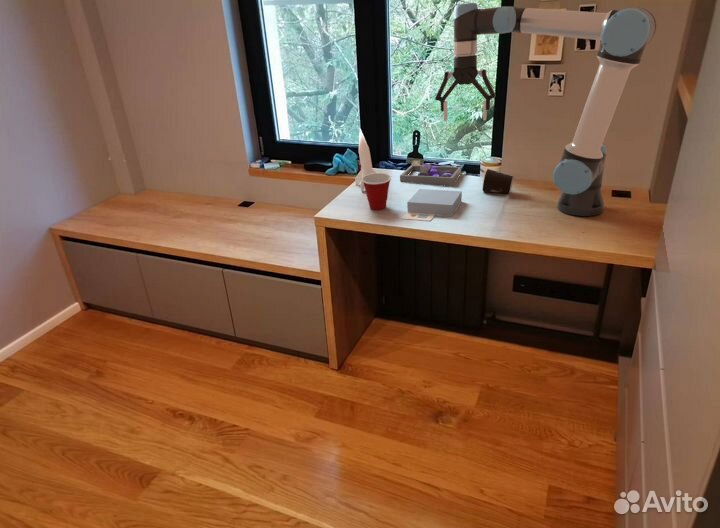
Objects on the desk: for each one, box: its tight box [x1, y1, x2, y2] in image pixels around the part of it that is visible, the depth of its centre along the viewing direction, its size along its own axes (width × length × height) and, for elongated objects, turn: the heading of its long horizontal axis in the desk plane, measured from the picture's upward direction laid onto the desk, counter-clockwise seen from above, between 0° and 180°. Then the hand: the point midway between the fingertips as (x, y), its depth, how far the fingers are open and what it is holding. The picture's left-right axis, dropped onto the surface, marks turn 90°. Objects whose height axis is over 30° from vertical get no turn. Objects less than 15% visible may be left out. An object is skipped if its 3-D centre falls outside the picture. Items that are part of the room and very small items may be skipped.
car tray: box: [399, 164, 462, 187], centre depth 220 cm, size 22×17×4 cm
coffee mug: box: [482, 168, 514, 194], centre depth 202 cm, size 12×9×10 cm
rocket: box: [354, 128, 377, 192], centre depth 207 cm, size 10×9×24 cm
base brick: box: [406, 188, 463, 217], centre depth 189 cm, size 16×16×4 cm
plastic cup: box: [362, 172, 392, 211], centre depth 189 cm, size 11×11×12 cm
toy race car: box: [417, 163, 453, 177], centre depth 220 cm, size 10×15×6 cm, turn 69°
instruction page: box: [401, 211, 436, 222], centre depth 182 cm, size 10×7×1 cm
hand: (465, 120), depth 182 cm, fingers open, 13 cm apart
